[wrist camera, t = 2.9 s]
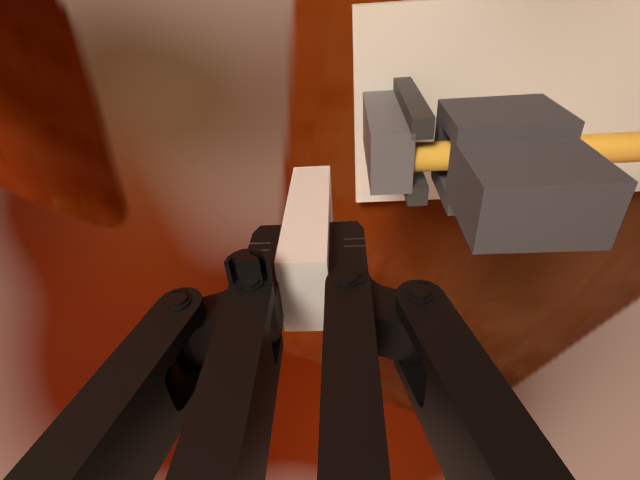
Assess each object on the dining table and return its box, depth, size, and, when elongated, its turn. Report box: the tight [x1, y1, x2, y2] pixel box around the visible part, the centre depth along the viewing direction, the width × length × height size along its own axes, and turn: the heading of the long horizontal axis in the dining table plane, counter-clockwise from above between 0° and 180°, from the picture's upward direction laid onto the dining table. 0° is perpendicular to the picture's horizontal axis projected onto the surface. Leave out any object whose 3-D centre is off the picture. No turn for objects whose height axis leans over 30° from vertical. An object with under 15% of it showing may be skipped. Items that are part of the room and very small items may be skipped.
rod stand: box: [352, 0, 640, 206], centre depth 22 cm, size 12×22×10 cm, turn 94°
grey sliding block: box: [431, 93, 638, 255], centre depth 18 cm, size 4×5×8 cm
